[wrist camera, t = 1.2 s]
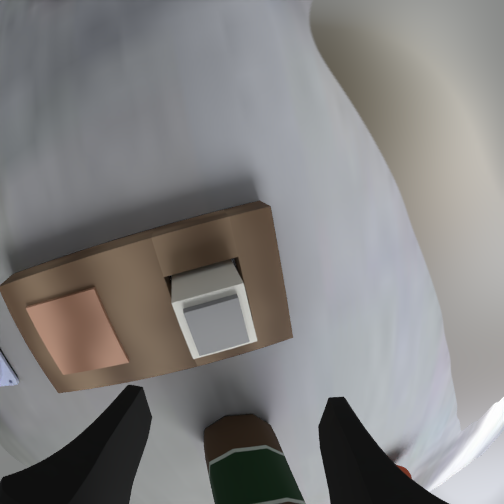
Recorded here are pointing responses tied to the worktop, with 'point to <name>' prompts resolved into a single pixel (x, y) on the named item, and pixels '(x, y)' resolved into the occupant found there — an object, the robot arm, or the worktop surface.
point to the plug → (212, 309)
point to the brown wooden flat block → (143, 299)
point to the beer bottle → (248, 463)
